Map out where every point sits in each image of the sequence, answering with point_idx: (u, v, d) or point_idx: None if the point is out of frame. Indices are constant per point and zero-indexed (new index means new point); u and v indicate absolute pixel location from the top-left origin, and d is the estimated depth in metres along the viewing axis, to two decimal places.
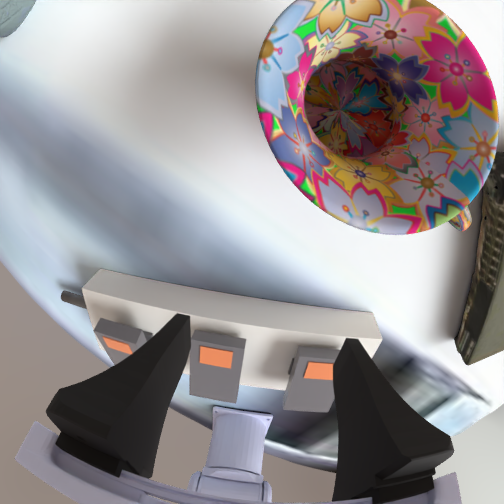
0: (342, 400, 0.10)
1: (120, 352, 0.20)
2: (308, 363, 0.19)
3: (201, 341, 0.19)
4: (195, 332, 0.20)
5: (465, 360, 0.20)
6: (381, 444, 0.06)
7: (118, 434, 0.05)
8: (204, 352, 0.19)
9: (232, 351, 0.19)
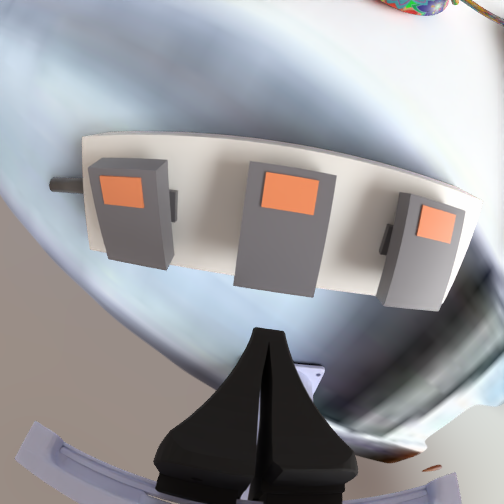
0: (262, 395, 0.10)
1: (123, 211, 0.13)
2: (422, 209, 0.12)
3: (269, 164, 0.12)
4: None
5: None
6: (268, 444, 0.06)
7: None
8: (270, 186, 0.12)
9: (317, 179, 0.12)
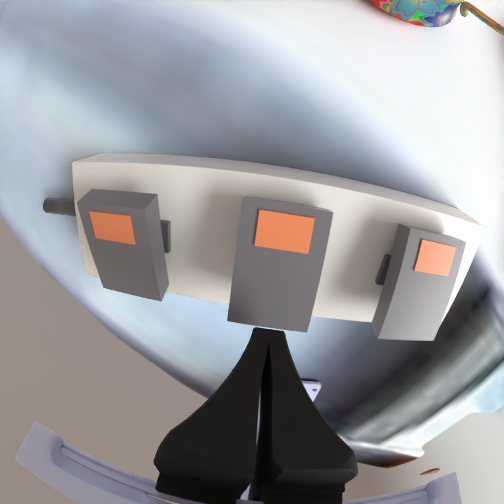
0: (262, 395, 0.10)
1: (115, 245, 0.13)
2: (421, 243, 0.12)
3: (262, 201, 0.12)
4: (247, 196, 0.13)
5: None
6: (268, 444, 0.06)
7: None
8: (264, 224, 0.12)
9: (313, 217, 0.12)
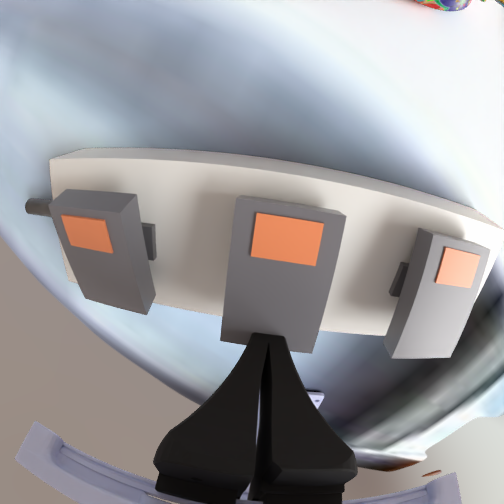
0: (262, 395, 0.10)
1: (91, 253, 0.11)
2: (444, 251, 0.09)
3: (260, 202, 0.10)
4: (242, 196, 0.11)
5: None
6: (268, 444, 0.06)
7: None
8: (262, 230, 0.10)
9: (322, 221, 0.10)
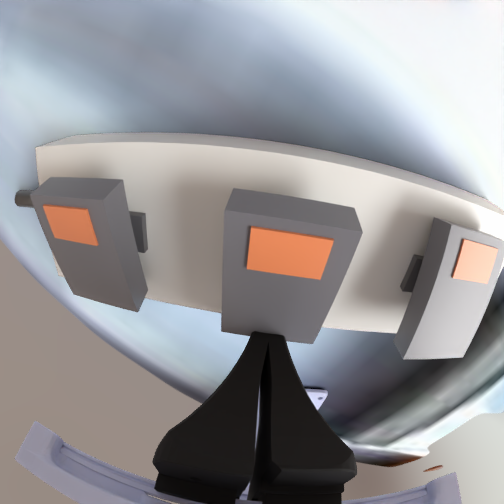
0: (261, 394, 0.10)
1: (76, 246, 0.09)
2: (462, 243, 0.08)
3: (255, 215, 0.08)
4: (235, 194, 0.08)
5: None
6: (267, 444, 0.06)
7: None
8: (259, 243, 0.08)
9: (331, 237, 0.08)
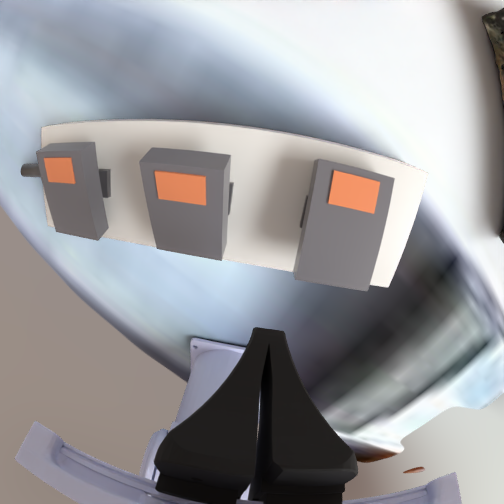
0: (262, 395, 0.10)
1: (61, 187, 0.13)
2: (334, 174, 0.12)
3: (155, 163, 0.11)
4: (150, 151, 0.12)
5: None
6: (268, 444, 0.06)
7: None
8: (162, 181, 0.12)
9: (204, 175, 0.11)
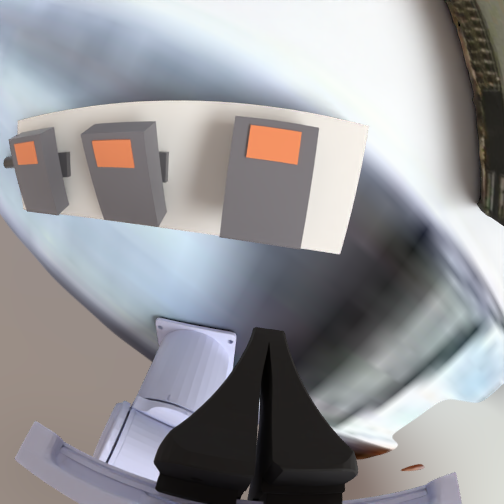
0: (262, 394, 0.10)
1: (28, 168, 0.13)
2: (251, 129, 0.12)
3: (92, 133, 0.11)
4: (92, 126, 0.12)
5: (501, 217, 0.13)
6: (268, 444, 0.06)
7: None
8: (98, 150, 0.12)
9: (129, 138, 0.11)
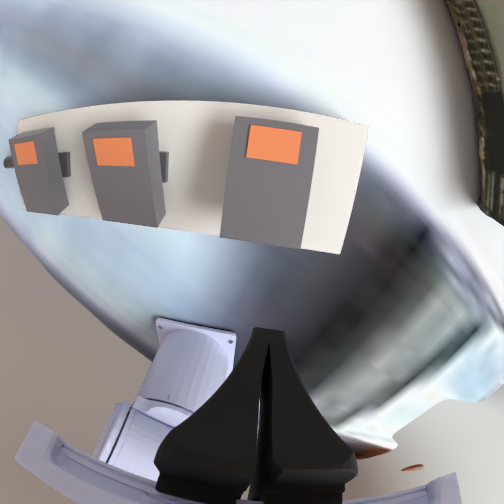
0: (262, 394, 0.10)
1: (28, 168, 0.13)
2: (251, 129, 0.12)
3: (93, 131, 0.11)
4: (93, 125, 0.12)
5: (501, 217, 0.14)
6: (268, 444, 0.06)
7: None
8: (99, 148, 0.12)
9: (130, 136, 0.11)
